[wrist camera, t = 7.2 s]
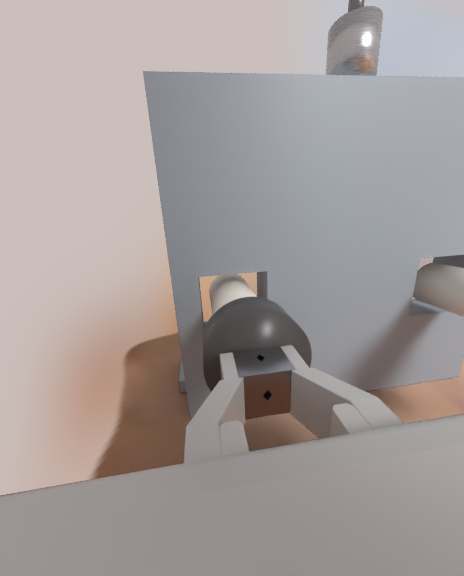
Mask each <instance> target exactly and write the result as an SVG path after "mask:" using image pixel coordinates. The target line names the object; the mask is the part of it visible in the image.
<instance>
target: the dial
mask: <svg viewBox="0 0 464 576" xmlns="http://www.w3.org/2000/svg"><path fill="white" fill-rule="evenodd" d="M382 20H383V13H382V11H381V9H379V8H378V7H374V6H366V7H364V0H349V8H348V13H347V14H345V15H343V16H342V17H340V18H339V19H338V20H337V21H336V22H335V23H334V24H333V25H332V26H331V28H330V30H329V33H328V48H327V65H326V75H360V76H376V74H377V65H378V56H379V47H380V37H381V29H382Z"/></svg>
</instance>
